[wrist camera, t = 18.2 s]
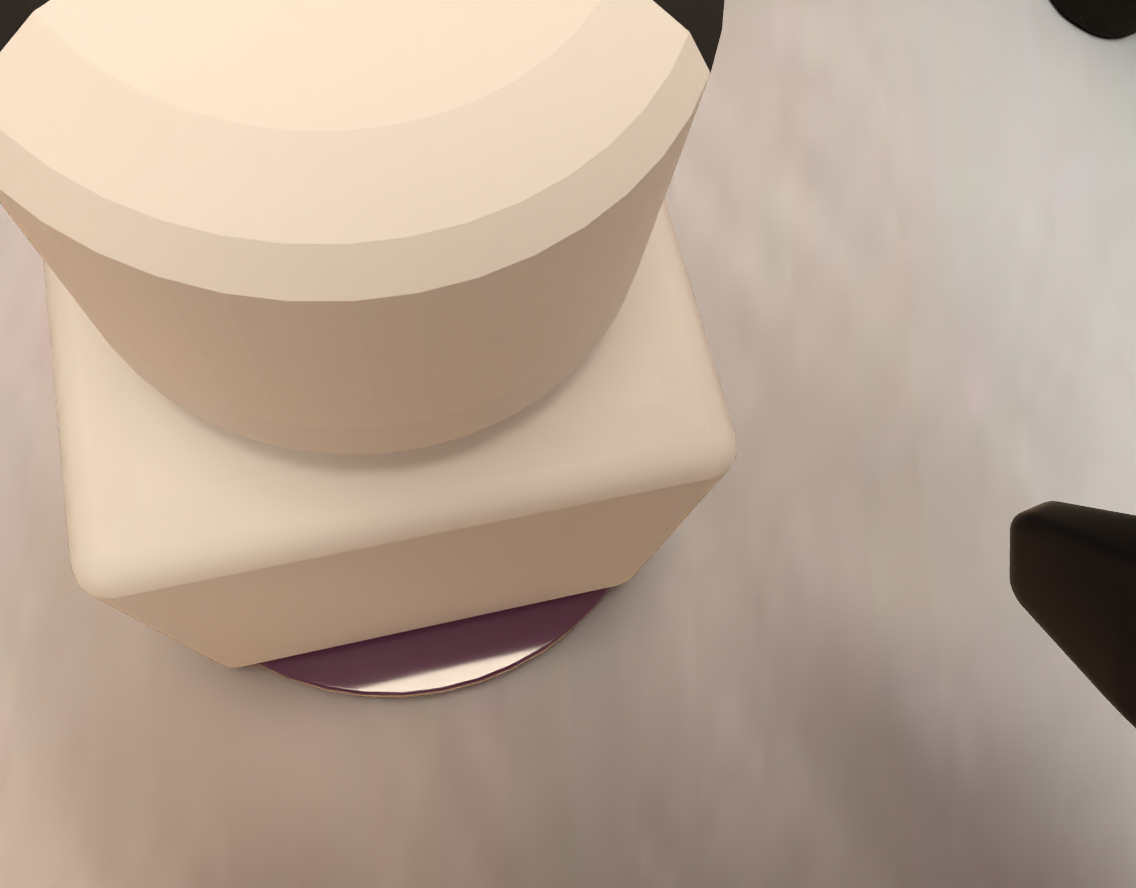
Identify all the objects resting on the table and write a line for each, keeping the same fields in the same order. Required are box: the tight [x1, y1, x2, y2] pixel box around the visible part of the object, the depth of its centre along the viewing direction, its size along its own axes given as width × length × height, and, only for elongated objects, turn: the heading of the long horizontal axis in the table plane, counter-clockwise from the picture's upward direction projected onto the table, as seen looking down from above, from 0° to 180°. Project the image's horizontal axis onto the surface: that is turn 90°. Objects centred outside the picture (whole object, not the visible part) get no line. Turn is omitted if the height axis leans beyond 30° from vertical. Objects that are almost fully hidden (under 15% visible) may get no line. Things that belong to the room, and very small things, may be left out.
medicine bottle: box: [0, 0, 736, 667], centre depth 12 cm, size 7×7×12 cm
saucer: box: [257, 587, 611, 698], centre depth 19 cm, size 10×10×1 cm
